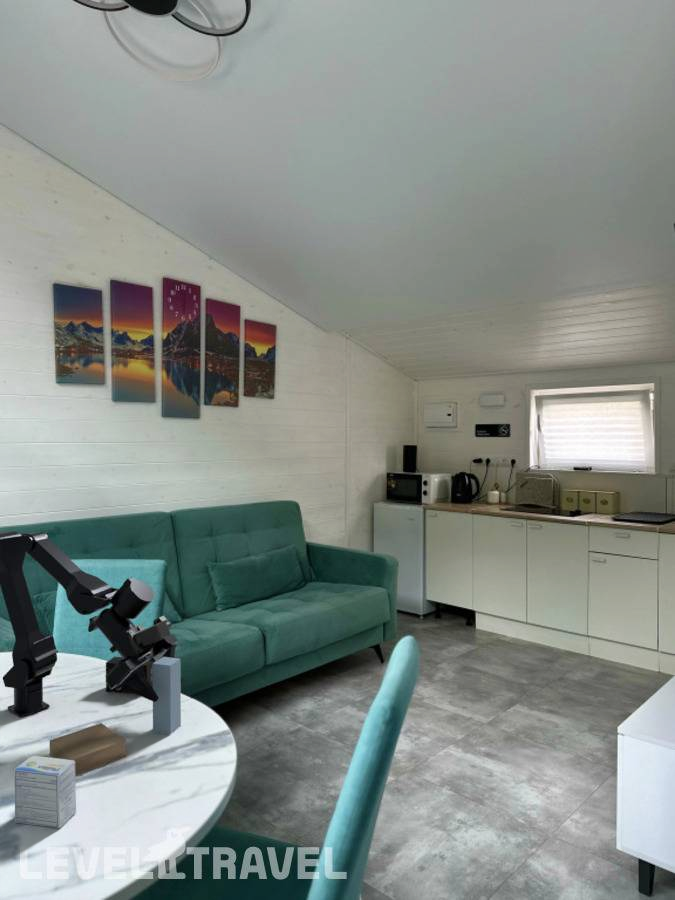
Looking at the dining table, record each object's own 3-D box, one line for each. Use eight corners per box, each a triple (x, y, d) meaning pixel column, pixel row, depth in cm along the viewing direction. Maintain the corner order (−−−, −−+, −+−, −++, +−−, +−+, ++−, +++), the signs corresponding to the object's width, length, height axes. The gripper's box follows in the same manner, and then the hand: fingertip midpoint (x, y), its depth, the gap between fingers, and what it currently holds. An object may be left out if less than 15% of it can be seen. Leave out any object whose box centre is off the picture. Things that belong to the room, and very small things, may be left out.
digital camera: (102, 694, 147) (102, 664, 147) (114, 684, 152) (114, 655, 152) (144, 697, 145) (144, 666, 145) (155, 687, 151) (155, 658, 150)
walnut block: (49, 756, 118) (49, 740, 118) (101, 737, 126) (101, 723, 126) (72, 776, 112) (72, 759, 111) (125, 755, 119) (125, 740, 119)
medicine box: (77, 813, 101) (76, 759, 101) (59, 830, 97) (58, 774, 96) (33, 807, 102) (32, 754, 102) (13, 824, 98) (13, 768, 98)
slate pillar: (152, 732, 128) (152, 663, 128) (163, 723, 132) (163, 656, 132) (170, 734, 127) (170, 665, 127) (180, 726, 131) (180, 658, 131)
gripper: (118, 620, 121) (170, 683, 118) (169, 596, 139) (215, 650, 136) (83, 657, 124) (133, 720, 121) (138, 629, 142) (183, 683, 139)
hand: (169, 691), depth 129 cm, fingers open, 9 cm apart
